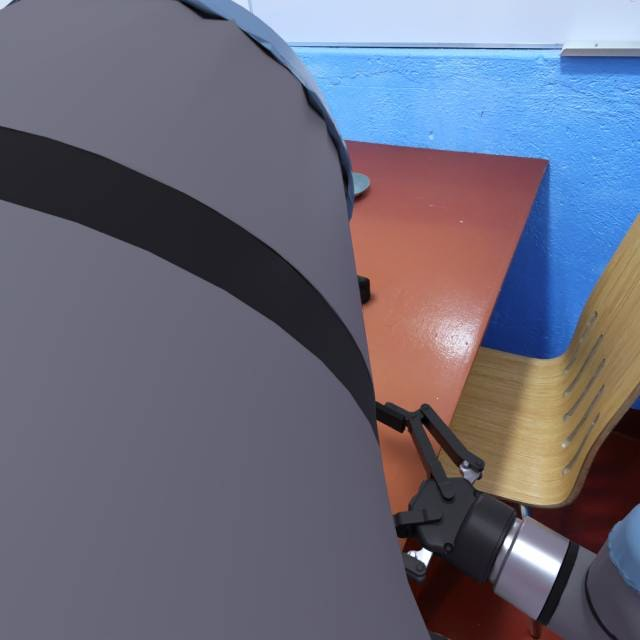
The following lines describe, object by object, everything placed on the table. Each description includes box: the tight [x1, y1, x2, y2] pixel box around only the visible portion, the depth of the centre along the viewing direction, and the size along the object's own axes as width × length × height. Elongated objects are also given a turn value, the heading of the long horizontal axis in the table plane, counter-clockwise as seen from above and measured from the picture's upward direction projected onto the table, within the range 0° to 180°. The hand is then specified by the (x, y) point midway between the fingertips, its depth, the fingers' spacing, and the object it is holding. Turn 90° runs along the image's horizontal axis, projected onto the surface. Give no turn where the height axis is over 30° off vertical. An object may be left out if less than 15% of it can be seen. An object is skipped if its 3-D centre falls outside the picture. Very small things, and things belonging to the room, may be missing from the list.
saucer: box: [353, 172, 371, 198], centre depth 111 cm, size 12×12×2 cm
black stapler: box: [357, 274, 372, 304], centre depth 84 cm, size 5×3×15 cm
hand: (324, 440), depth 55 cm, fingers open, 13 cm apart
